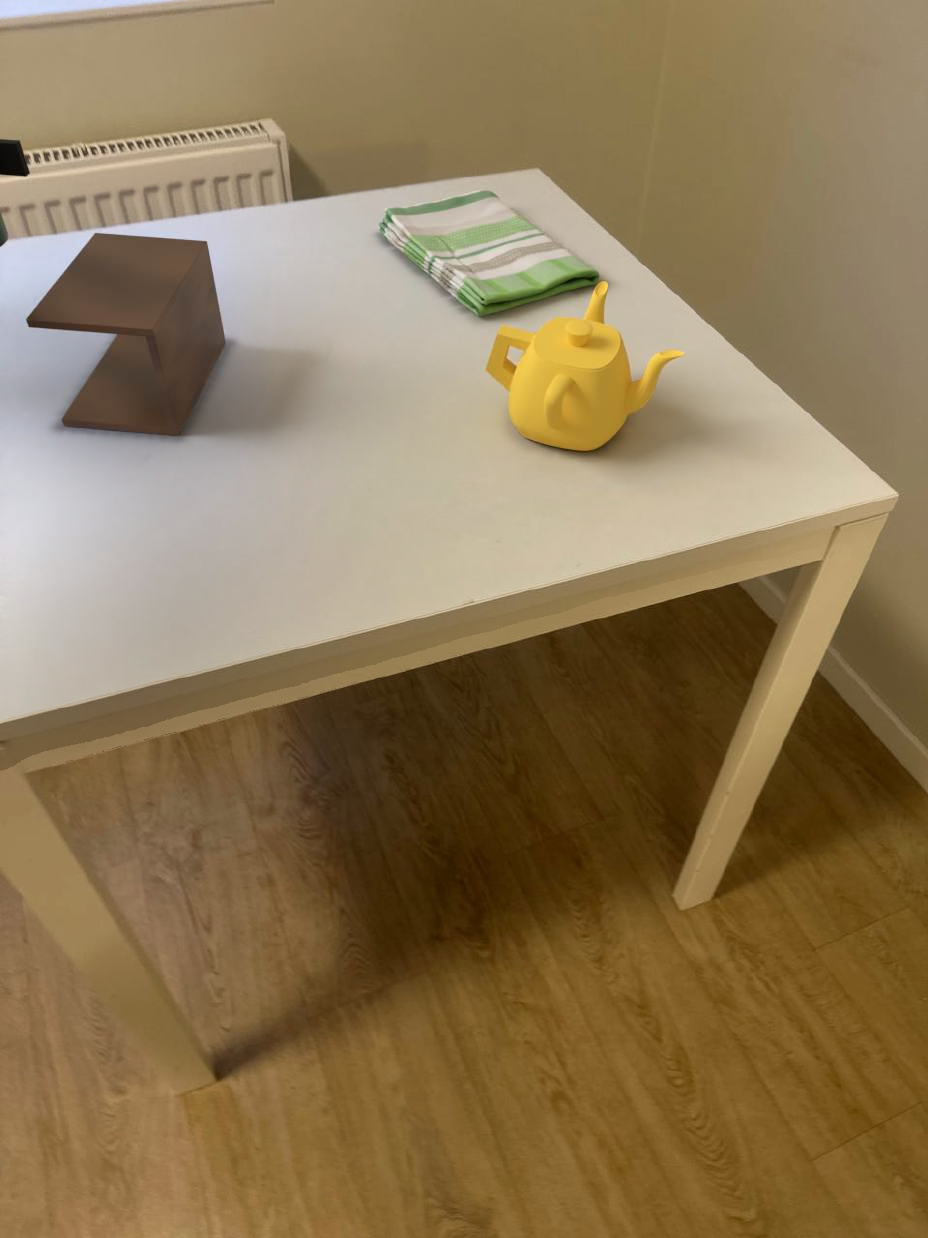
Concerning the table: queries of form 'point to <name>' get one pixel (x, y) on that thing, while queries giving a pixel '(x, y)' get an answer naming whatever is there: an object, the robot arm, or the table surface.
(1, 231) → the tin
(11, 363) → the table surface
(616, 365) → the teapot
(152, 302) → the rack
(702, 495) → the table surface
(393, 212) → the dish towel
